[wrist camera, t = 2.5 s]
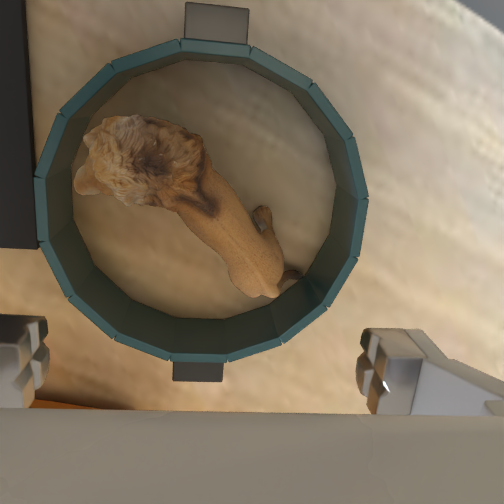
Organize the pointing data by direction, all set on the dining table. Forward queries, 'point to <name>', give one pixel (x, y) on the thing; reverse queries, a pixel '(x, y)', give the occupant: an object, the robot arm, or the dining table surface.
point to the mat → (16, 132)
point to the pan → (156, 322)
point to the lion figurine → (184, 194)
